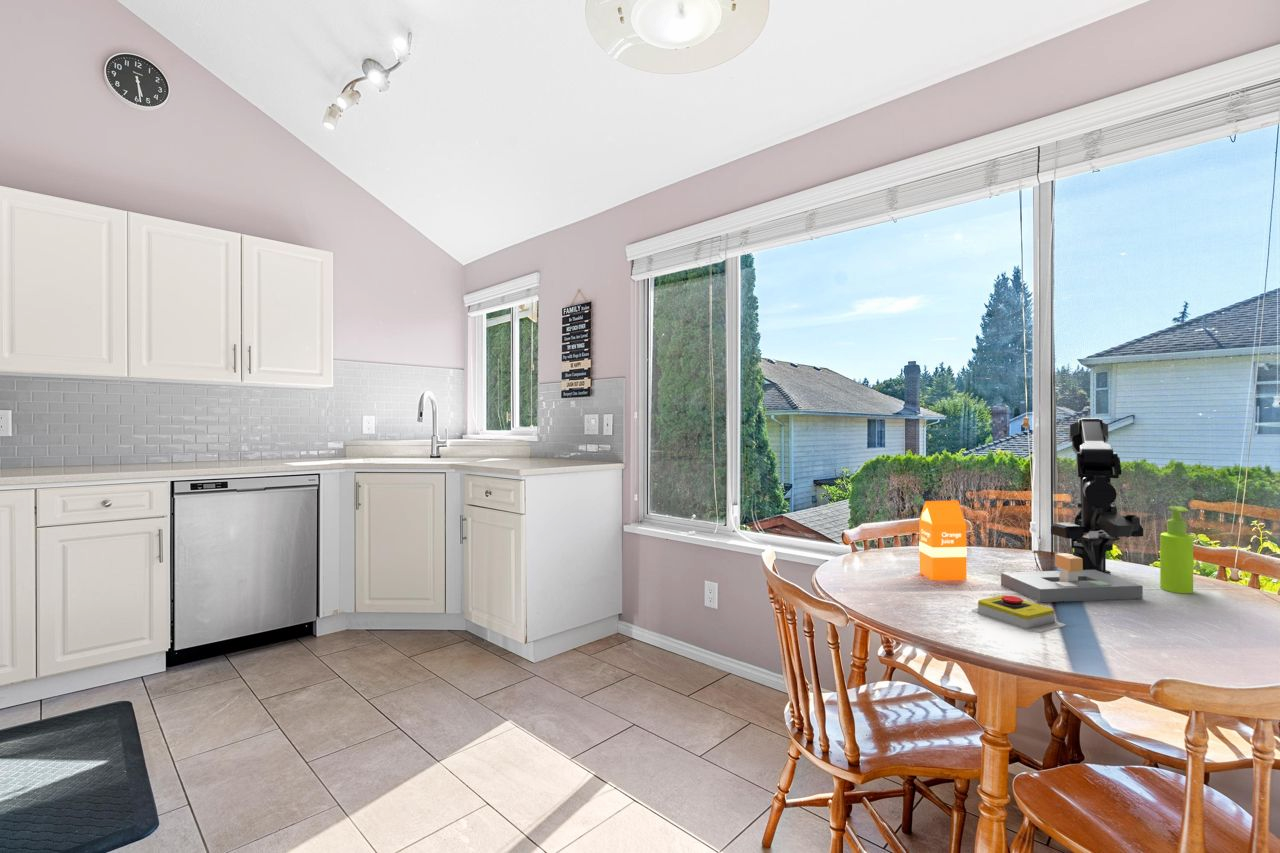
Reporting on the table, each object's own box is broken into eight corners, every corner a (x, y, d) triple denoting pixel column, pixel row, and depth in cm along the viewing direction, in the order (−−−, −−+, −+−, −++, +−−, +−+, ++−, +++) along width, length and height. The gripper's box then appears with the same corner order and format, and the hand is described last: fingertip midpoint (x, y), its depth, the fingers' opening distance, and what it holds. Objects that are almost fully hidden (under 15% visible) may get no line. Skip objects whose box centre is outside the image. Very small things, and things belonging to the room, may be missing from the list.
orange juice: (967, 580, 156) (966, 502, 156) (932, 580, 156) (931, 503, 156) (951, 572, 164) (951, 498, 164) (919, 572, 164) (918, 498, 164)
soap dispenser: (1168, 593, 142) (1168, 508, 141) (1155, 585, 148) (1156, 503, 148) (1200, 595, 140) (1200, 509, 139) (1186, 587, 146) (1186, 504, 146)
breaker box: (1094, 581, 153) (1094, 568, 152) (1142, 598, 139) (1142, 584, 139) (1001, 584, 152) (1000, 571, 152) (1040, 602, 138) (1039, 588, 138)
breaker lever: (1066, 582, 148) (1066, 553, 147) (1082, 588, 143) (1082, 558, 142) (1054, 583, 148) (1054, 553, 147) (1070, 589, 143) (1070, 558, 142)
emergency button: (998, 587, 137) (1067, 606, 123) (998, 606, 137) (1067, 628, 123) (969, 593, 133) (1037, 613, 119) (969, 612, 133) (1037, 635, 120)
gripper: (1084, 506, 136) (1084, 575, 137) (1164, 504, 137) (1164, 573, 138) (1049, 499, 148) (1049, 563, 148) (1123, 497, 148) (1123, 561, 149)
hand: (1096, 565), depth 145 cm, fingers closed
